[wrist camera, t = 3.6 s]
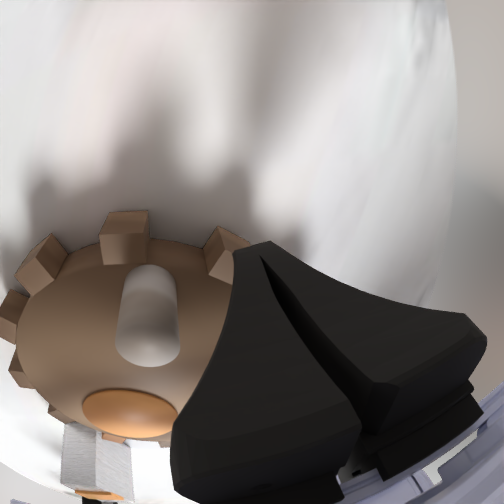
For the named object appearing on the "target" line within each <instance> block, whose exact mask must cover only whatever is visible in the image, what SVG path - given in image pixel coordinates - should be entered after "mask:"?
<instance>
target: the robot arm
mask: <svg viewBox="0 0 504 504" xmlns="http://www.w3.org/2000/svg"><path fill="white" fill-rule="evenodd" d="M232 257H233V261H234V275H233V283H232V291H231V296H230V301H229V306H228V310H227V314H226V318H225V321H224V324H223V328H222V331H221V334H220V336H219V339H218V342H217V344H216V347H215V349H214V352H213V354H212V356H211V359H210V361H209V363H208V365H207V367H206V369H205V371H204V373H203V375H202V377H201V378H200V380H199V382H198V384H197V386H196V388H195V390H194V391H193V393H192V395H191V396H190V398H189V399H188V401H187V403H186V404H185V406H184V407H183V409H182V410H181V412H180V413H179V415H178V416H177V418H176V419H175V421H174V422H173V426H172V433H171V442H170V466H171V473H172V480H173V486H174V490H175V491H176V492H178V493H179V494H180V495H182V496H183V497H186V498H188V499H190V500H193V501H195V502H197V503H200V504H504V381H503V382H502V383H501V384H500V385H498V386H497V387H496V388H495V389H494V390H493V391H492V392H490V394H488V395H487V396H486V397H485V398H484V399H482V400H481V401H480V402H479V403H477V402H476V401H475V399H474V398H473V397H472V395H471V393H472V392H473V390H474V387H473V385H472V384H471V383H470V381H469V380H468V379H469V377H470V375H471V374H472V372H473V371H474V369H475V368H476V366H477V365H478V363H479V361H480V360H481V358H482V356H483V354H484V352H485V350H486V346H487V337H486V336H485V335H484V334H483V332H482V331H481V330H480V329H479V328H478V327H477V326H476V325H475V324H474V323H473V322H472V321H471V320H470V319H469V318H468V317H467V316H466V315H465V314H464V313H455V312H448V311H439V310H432V309H426V308H421V307H416V306H412V305H407V304H403V303H399V302H395V301H391V300H388V299H385V298H382V297H378V296H375V295H372V294H369V293H366V292H364V291H361V290H358V289H356V288H354V287H351V286H349V285H346V284H344V283H342V282H339V281H337V280H335V279H333V278H331V277H329V276H327V275H325V274H323V273H321V272H319V271H317V270H316V269H314V268H312V267H310V266H309V265H307V264H305V263H304V262H302V261H300V260H299V259H297V258H296V257H294V256H293V255H291V254H290V253H288V252H286V251H285V250H283V249H282V248H281V247H279V246H278V245H276V244H274V243H273V242H271V241H267V242H264V243H260V244H256V245H252V246H249V247H245V248H241V249H237V250H234V252H233V253H232ZM478 428H479V429H478ZM477 429H478V431H477V438H476V439H474V440H473V441H472V442H471V443H470V444H468V445H467V446H466V447H465V448H463V449H462V450H461V451H460V452H459V453H457V454H456V455H455V456H454V457H453V458H451V459H450V460H448V461H447V462H446V463H444V464H443V465H441V466H440V467H439V468H438V473H439V474H440V476H441V478H442V481H440V482H439V483H437V484H436V485H433V483H432V481H431V480H430V478H429V477H428V475H427V474H426V473H425V472H424V471H423V470H422V469H423V468H424V467H426V466H427V465H429V464H430V463H432V462H433V461H435V460H437V459H438V458H439V457H441V456H442V455H444V454H445V453H447V452H448V451H450V450H451V449H452V448H454V447H455V446H456V445H458V444H459V443H460V442H462V441H463V440H464V439H466V438H467V437H468V436H470V434H472V433H473V432H474V431H476V430H477ZM11 504H29V503H25V502H21V501H18V500H14V499H12V500H11Z"/></svg>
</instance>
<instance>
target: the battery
mask: <svg viewBox="0 0 504 504" xmlns="http://www.w3.org/2000/svg"><path fill="white" fill-rule="evenodd" d="M82 504H102V501H99V500H96V499H88V498H86V497H83V496H82ZM113 504H117V502H113Z"/></svg>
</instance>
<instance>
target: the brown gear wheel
mask: <svg viewBox="0 0 504 504" xmlns="http://www.w3.org/2000/svg"><path fill="white" fill-rule="evenodd" d="M99 240H100V243H98V244H94V245H90V246H87V247H85V248H82V249H80V250H77V251H75V252H73V253H71V254H69V255H68V253H67V252H66V251H65V250H64V248H63V247H62V246H61V245H60V243H59V242H58V241H57V239H56V238H55V237H54V235H53V234H52V233H51V234H50V235H49V236H48V237H47V238H45V239H44V240H43V241H42V242H41V243H39V244H38V245H37V246H36V247H35V248H34V249H32V250H31V251H30V253H29V254H28V256H27V257H26V258H25V260H24V261H23V263H22V264H21V266H20V267H19V269H18V270H17V272H16V273H15V275H14V276H15V278H16V279H17V280H18V281H19V282H20V283H21V285H22V286H23V287H24V288H25V289H26V290H27V291H28V292H29V293H30V295H31V296H30V298H28V297H26V296H24V295H22V294H20V293H18V292H16V291H14V290H12V289H10V291H9V292H8V294H7V296H6V298H5V299H4V301H3V303H2V305H1V307H0V337H1V338H3V339H5V340H7V341H9V342H10V343H12V344H14V345H15V344H16V350H15V352H14V355H13V358H12V361H11V364H10V366H9V369H8V371H9V372H10V374H11V375H12V377H13V378H14V380H15V381H16V383H17V384H18V385H19V387H23V388H30V389H36V390H37V392H38V393H39V394H40V395H41V396H42V397H43V398H44V399H45V400H46V401H47V402H49V408H48V413H49V414H50V415H52V416H53V417H55V418H56V419H58V420H60V421H61V422H63V423H65V424H67V423H71V422H74V421H76V422H78V423H80V424H83V425H85V426H87V427H89V428H92V429H94V430H97V431H100V432H102V436H101V439H104V440H108V441H112V442H116V443H120V444H122V443H123V442H124V441H125V439H126V438H127V439H133V440H141V441H158V442H159V445H160V447H161V448H163V447H170V442H171V433H172V426H173V422H174V421H175V419H176V418H177V416H178V415H179V413H180V412H181V410H182V409H183V407H184V406H185V404H186V403H187V401H188V399H189V398H190V396H191V395H192V393H193V391H194V390H195V388H196V386H197V384H198V382H199V380H200V378H201V377H202V375H203V373H204V371H205V369H206V367H207V365H208V363H209V361H210V359H211V356H212V354H213V352H214V349H215V347H216V344H217V342H218V339H219V336H220V334H221V331H222V328H223V324H224V321H225V318H226V314H227V310H228V306H229V301H230V296H231V291H232V283H233V275H234V261H233V257H232V253H233V252H234V250H237V249H241V248H245V247H249V246H250V243H249V242H248V241H246V240H244V239H242V238H240V237H239V236H237V235H235V234H233V233H231V232H229V231H227V230H225V229H223V228H221V227H219V226H217V228H216V229H215V231H214V232H213V234H212V235H211V237H210V238H209V240H208V241H207V243H206V244H205V246H204V247H203V249H201V248H198V247H194V246H190V245H186V244H183V243H179V242H173V241H166V240H159V239H149V224H148V211H126V212H109V214H108V216H107V219H106V221H105V223H104V225H103V227H102V229H101V231H100V233H99Z"/></svg>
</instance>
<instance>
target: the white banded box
mask: <svg viewBox="0 0 504 504" xmlns="http://www.w3.org/2000/svg"><path fill="white" fill-rule="evenodd" d="M101 436H102V432H100V431H97V430H94V429H92V428H89V427H87V426H85V425H83V424H80V423H67V424H65V426H64V435H63V446H62V460H61V484H63V485H65V486H67V487H69V488H71V489H73V490H75V493H76V494H79V495H81V496H83V497H86V498H88V499H96V500H99V501H102V502H135V501H134V491H133V479H132V464H131V448H130V447H129V446H127V445H126V444H125V443H122V444H120V443H116V442H112V441H108V440H104V439H101Z"/></svg>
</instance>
